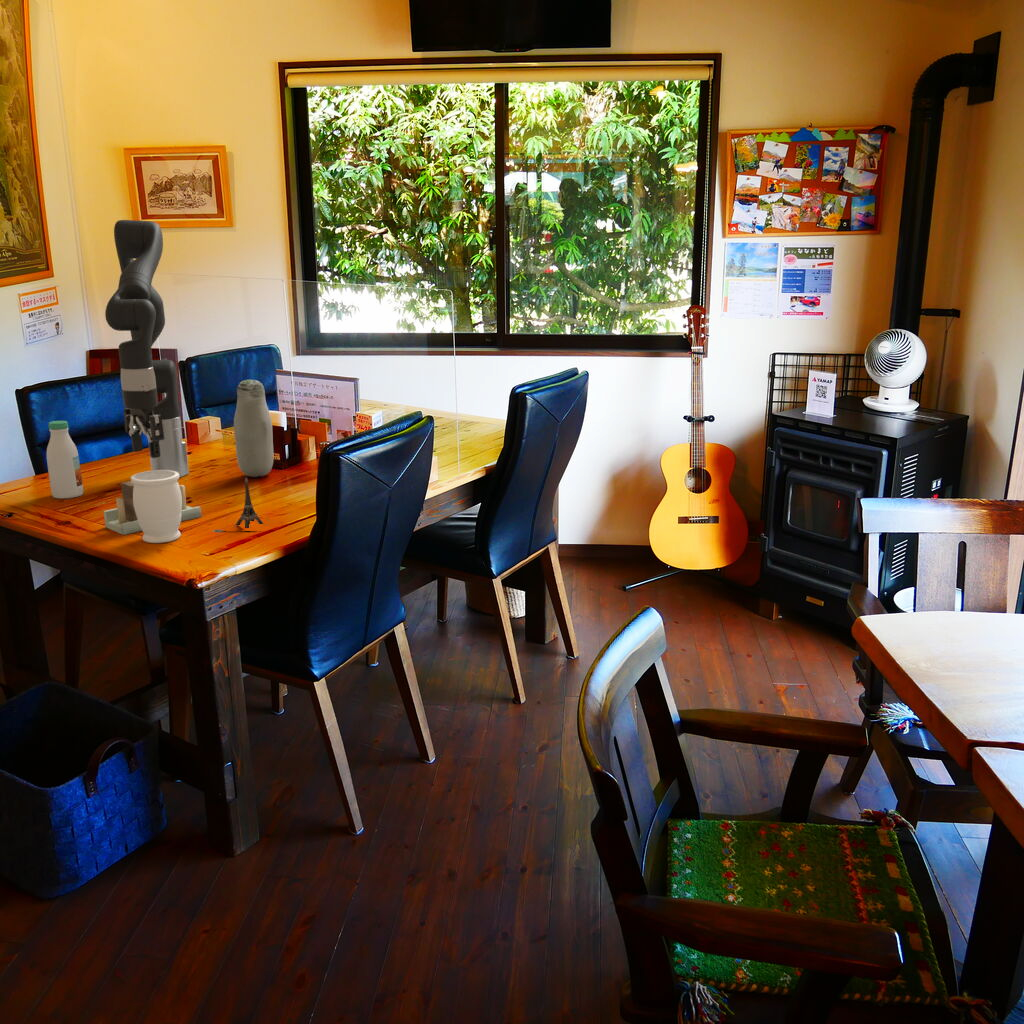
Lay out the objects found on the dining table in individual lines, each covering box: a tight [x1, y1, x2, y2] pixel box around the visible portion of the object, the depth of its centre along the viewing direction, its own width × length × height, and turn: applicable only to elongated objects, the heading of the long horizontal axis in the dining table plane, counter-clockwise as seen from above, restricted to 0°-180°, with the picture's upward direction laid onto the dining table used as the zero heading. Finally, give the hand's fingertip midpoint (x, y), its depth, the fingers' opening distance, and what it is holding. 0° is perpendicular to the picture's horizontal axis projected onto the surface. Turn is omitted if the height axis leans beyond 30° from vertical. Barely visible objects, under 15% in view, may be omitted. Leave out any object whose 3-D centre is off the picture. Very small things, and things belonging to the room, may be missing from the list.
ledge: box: [103, 484, 202, 536], centre depth 223 cm, size 20×9×8 cm, turn 138°
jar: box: [130, 470, 182, 544], centre depth 210 cm, size 11×10×15 cm
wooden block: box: [120, 479, 179, 522], centre depth 223 cm, size 12×5×9 cm, turn 138°
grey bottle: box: [233, 379, 275, 478], centre depth 263 cm, size 10×10×28 cm
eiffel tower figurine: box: [213, 477, 264, 533], centre depth 220 cm, size 15×10×13 cm
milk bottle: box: [46, 420, 84, 500], centre depth 243 cm, size 8×8×20 cm
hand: (146, 454), depth 219 cm, fingers open, 8 cm apart
